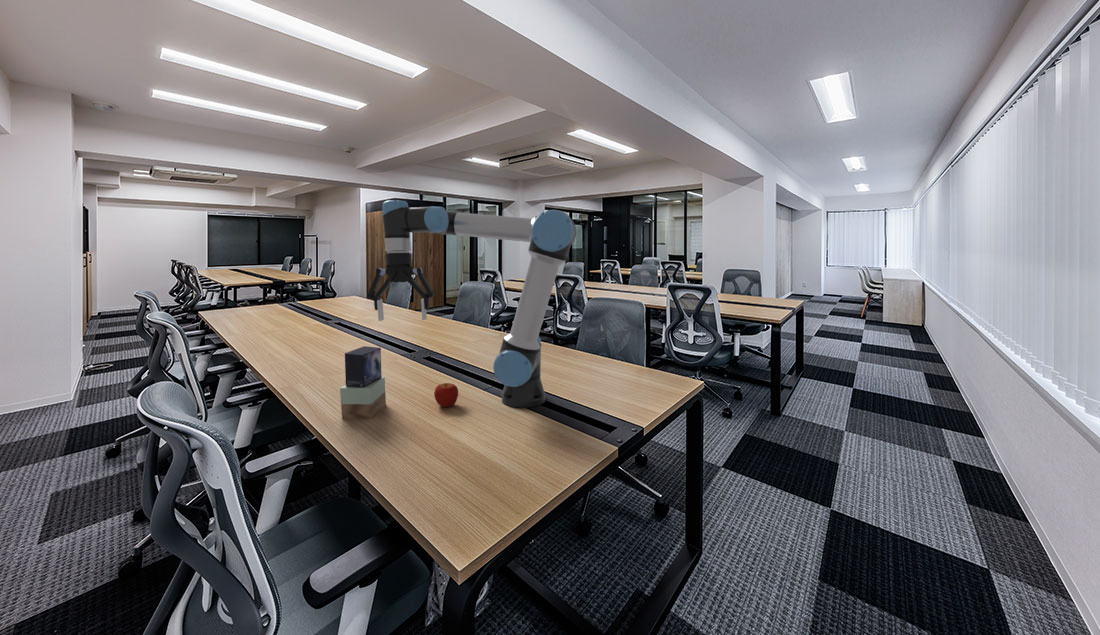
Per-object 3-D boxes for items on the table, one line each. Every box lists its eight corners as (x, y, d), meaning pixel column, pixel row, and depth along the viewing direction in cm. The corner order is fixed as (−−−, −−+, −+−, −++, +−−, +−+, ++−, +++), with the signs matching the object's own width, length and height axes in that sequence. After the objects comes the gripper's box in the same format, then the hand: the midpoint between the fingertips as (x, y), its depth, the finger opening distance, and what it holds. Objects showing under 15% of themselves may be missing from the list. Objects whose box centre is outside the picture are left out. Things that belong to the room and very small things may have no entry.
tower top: (385, 391, 141) (384, 376, 140) (370, 404, 129) (370, 388, 129) (357, 391, 141) (357, 376, 140) (340, 404, 129) (339, 388, 128)
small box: (364, 388, 129) (363, 354, 127) (344, 386, 130) (342, 353, 128) (383, 378, 139) (381, 346, 137) (364, 376, 140) (363, 345, 138)
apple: (433, 410, 137) (433, 387, 136) (435, 402, 145) (434, 380, 144) (458, 409, 139) (458, 386, 138) (458, 401, 147) (458, 379, 145)
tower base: (385, 405, 142) (385, 391, 141) (371, 419, 130) (370, 404, 129) (358, 405, 142) (357, 391, 141) (342, 419, 130) (341, 403, 129)
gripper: (441, 251, 136) (444, 317, 140) (362, 253, 135) (367, 318, 139) (436, 251, 129) (440, 320, 132) (352, 252, 128) (358, 322, 131)
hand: (402, 319), depth 135 cm, fingers open, 13 cm apart
